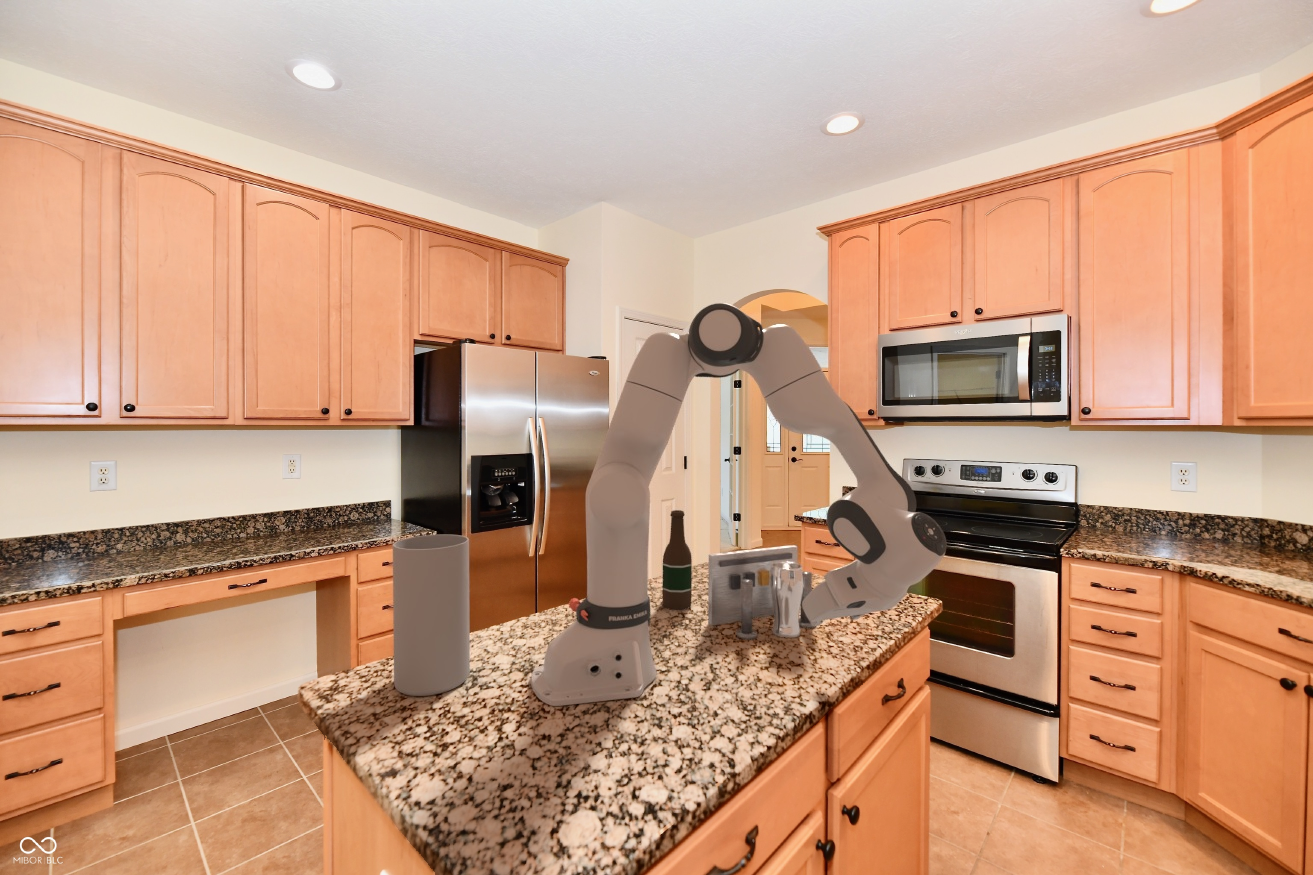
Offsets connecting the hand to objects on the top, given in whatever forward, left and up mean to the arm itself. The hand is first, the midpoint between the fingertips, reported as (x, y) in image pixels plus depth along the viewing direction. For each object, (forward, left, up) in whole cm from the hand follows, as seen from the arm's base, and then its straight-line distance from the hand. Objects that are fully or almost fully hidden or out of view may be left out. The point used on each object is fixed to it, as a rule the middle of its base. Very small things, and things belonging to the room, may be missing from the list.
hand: (833, 619), depth 106 cm
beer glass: (+1, +16, -9) cm, 18 cm away
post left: (-8, +18, -8) cm, 21 cm away
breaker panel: (0, +27, -8) cm, 28 cm away
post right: (+8, +18, -8) cm, 22 cm away
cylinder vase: (-71, +23, -9) cm, 75 cm away
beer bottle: (-13, +42, -9) cm, 45 cm away
